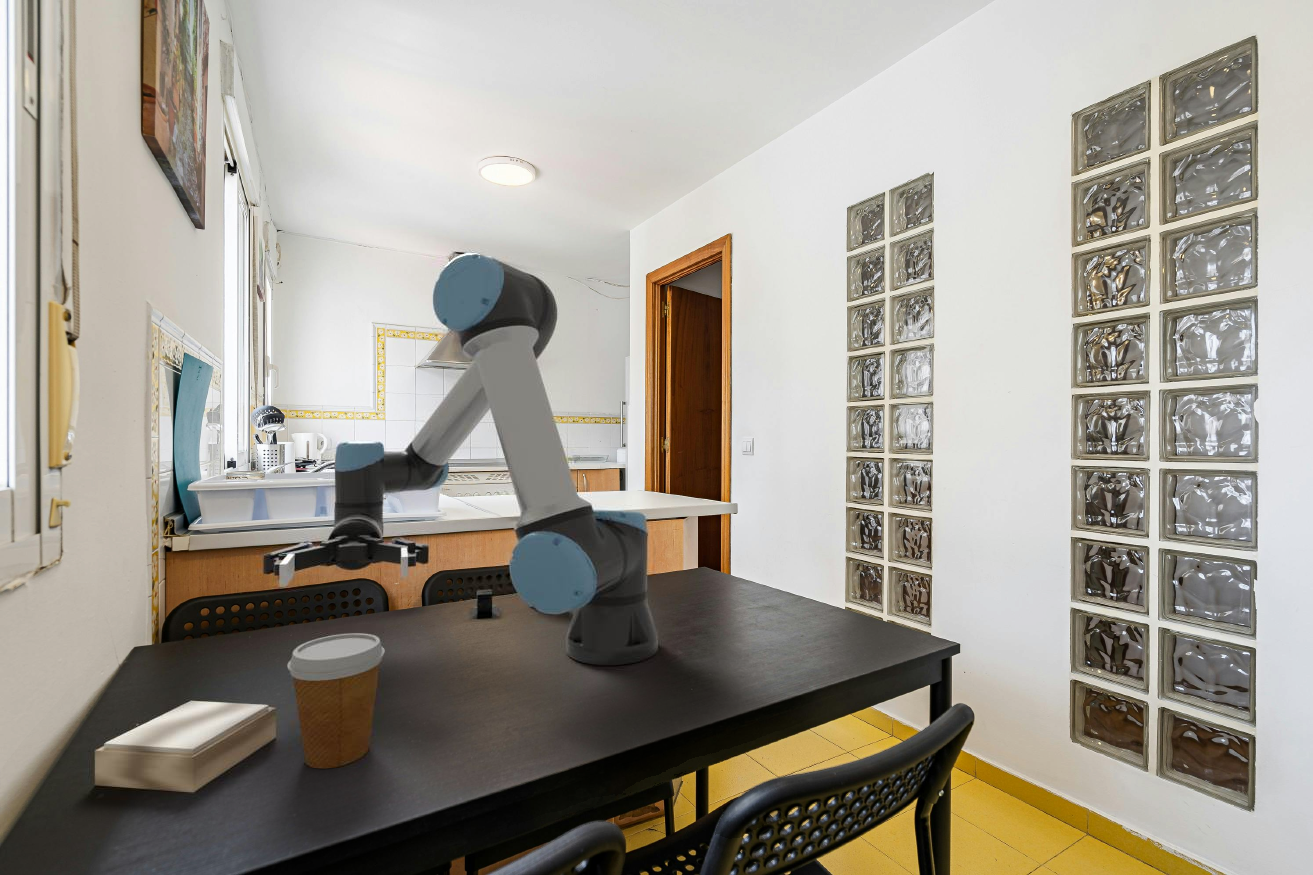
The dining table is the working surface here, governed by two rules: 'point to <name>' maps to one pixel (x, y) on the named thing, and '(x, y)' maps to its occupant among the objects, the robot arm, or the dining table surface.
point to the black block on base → (484, 606)
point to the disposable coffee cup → (336, 696)
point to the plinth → (185, 746)
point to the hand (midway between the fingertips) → (345, 571)
